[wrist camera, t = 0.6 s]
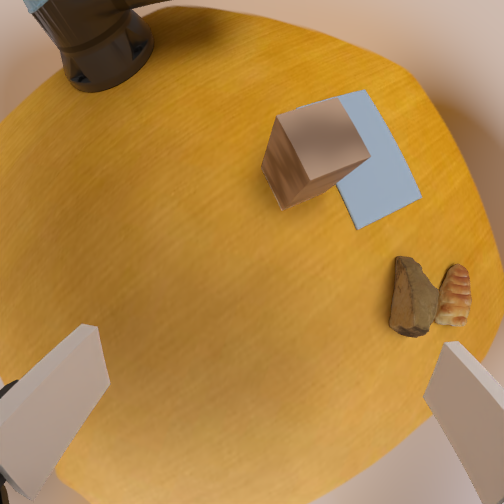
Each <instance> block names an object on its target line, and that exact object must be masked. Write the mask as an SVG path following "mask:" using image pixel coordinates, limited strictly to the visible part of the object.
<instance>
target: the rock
mask: <svg viewBox="0 0 504 504" xmlns="http://www.w3.org/2000/svg"><path fill="white" fill-rule="evenodd" d="M395 271H396V274H395V287H394V294H393V299H392V305H391V316H390V320H389V325H390V327H391V328H392V329H393V330H395V331H396V332H398V333H399V334H401V335H404V336H408V337H414V338H417V337H418V336H423V335H425V334H426V333H427V332H429V327H430V325H431V323H432V322H433V320H434V318H435V315H436V310H437V304H438V295H439V291H438V289H437V288H435V287H434V286H433V285H432V284H431V282H430V281H429V279H428V278H427V277H426V275H425V274H424V273H423V271H422V267H421V265H420V264H419V263H417V262H415V261H414V259H413V258H410V257H403V256H398V257H396V270H395Z"/></svg>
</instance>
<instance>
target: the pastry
mask: <svg viewBox="0 0 504 504" xmlns="http://www.w3.org/2000/svg"><path fill="white" fill-rule="evenodd" d="M471 302H472V298H471V291H470V278H469V275H468V271H467V269H466V268H465V267H463V266H462V265H460V264H455V265H454V266H452V267H451V268H450V269H449V270H448V272H447V274H446V278H445V280H444V281H443V284H442V285H441V287H440V289H439V295H438V304H437V310H436V315H435V318H434V319H435V322H436V323H437V324H442V325H446V324H447V325H451V326H464V325H466V323H467V317H468V314H469V311H470V305H471Z"/></svg>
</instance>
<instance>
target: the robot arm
mask: <svg viewBox="0 0 504 504" xmlns="http://www.w3.org/2000/svg"><path fill="white" fill-rule="evenodd" d="M23 1H24V3H25V5H26V7H27V8H28V12H29V13H31V14H32V15H33V16H34V18H35V19H36V20H37V22H38V23H39V24H40V25H41V27H42V28H43V29H44V31H45V32H46V33H47V34H48V36H49V37H50V38H51V40H52V41H53V42H54V43H55V45H56V46H57V47H58V49H59V50H60V52H61V58H62V62H63V67H64V71H65V75H66V77H67V78H68V80H69V81H70V82H71V83H72V85H73V86H74V87H75V88H77V89H79V90H81V91H84V92H97V91H102V90H106V89H109V88H112V87H114V86H116V85H118V84H120V83H122V82H124V81H125V80H127V79H128V78H130V77H131V76H132V75H134V74H135V73H136V72H137V71H138V70H139V69H140V68H141V67H142V66H143V65H144V64H145V63H146V61H147V60H148V58H149V57H150V55H151V53H152V50H153V47H154V38H153V35H152V32H151V29H150V27H149V25H148V24H147V23H146V22H145V21H144V20H143V19H142V18H141V17H140V16H139V15H138V14H136V13H135V12H134V11H133V10H132V9H134V8H137V7H142V6H146V5H150V4H154V3H160V2H164V1H170V0H23ZM109 385H110V380H109V376H108V372H107V368H106V364H105V359H104V355H103V350H102V346H101V341H100V336H99V331H98V327H96V326H91V325H86V324H81V325H80V326H79V327H77V328H76V329H75V330H74V331H73V332H72V333H71V334H69V335H68V336H67V337H66V338H65V339H64V340H63V341H61V342H60V343H59V344H58V345H57V346H56V347H55V348H54V349H53V350H51V351H50V352H49V353H48V354H47V355H46V356H45V357H44V358H43V359H42V360H40V361H39V362H38V363H37V364H36V365H35V366H34V367H33V368H32V369H31V370H30V371H29V372H28V373H27V374H25V375H24V376H23V377H22V378H21V379H20V380H15V381H13V382H11V383H9V384H7V385H5V386H4V387H3V388H2V389H1V390H0V504H9V500H8V494H7V490H6V488H5V486H4V485H3V484H4V483H5V481H7V482H8V483H9V484H10V485H11V486H12V487H13V488H14V489H15V491H17V492H18V493H20V494H21V495H23V496H25V497H26V498H28V499H29V500H31V501H34V499H35V498H36V496H37V495H38V493H39V491H40V490H41V488H42V487H43V485H44V483H45V482H46V480H47V478H48V477H49V475H50V474H51V472H52V470H53V469H54V467H55V466H56V464H57V463H58V461H59V460H60V458H61V457H62V455H63V453H64V452H65V450H66V449H67V447H68V446H69V444H70V443H71V441H72V440H73V438H74V437H75V435H76V434H77V432H78V431H79V429H80V428H81V426H82V425H83V423H84V422H85V420H86V419H87V417H88V416H89V414H90V413H91V411H92V410H93V409H94V407H95V406H96V404H97V403H98V401H99V400H100V398H101V397H102V396H103V394H104V393H105V391H106V390H107V388H108V387H109ZM423 398H424V400H425V401H426V403H427V404H428V406H429V408H430V409H431V411H432V413H433V414H434V416H435V418H436V419H437V421H438V422H439V424H440V426H441V428H442V429H443V431H444V433H445V434H446V436H447V438H448V440H449V441H450V443H451V445H452V447H453V448H454V450H455V452H456V454H457V456H458V457H459V459H460V461H461V463H462V465H463V466H464V468H465V470H466V472H467V474H468V476H469V478H470V480H471V482H472V484H473V486H474V488H475V489H476V491H477V493H478V495H479V498H480V500H481V501H482V504H502V503H503V502H504V388H503V387H502V386H501V385H500V384H499V383H498V382H497V381H496V380H495V378H493V376H492V375H491V374H490V373H489V372H488V371H487V370H486V369H485V368H484V367H483V366H482V365H481V364H480V363H479V362H478V361H477V360H476V359H475V358H474V357H473V356H472V355H471V354H470V353H469V352H468V351H467V350H466V349H465V348H464V347H463V346H462V345H461V344H460V343H459V342H458V341H454V342H445V343H444V344H443V347H442V350H441V353H440V356H439V358H438V361H437V364H436V366H435V369H434V372H433V374H432V377H431V379H430V382H429V384H428V386H427V389H426V391H425V393H424V396H423Z"/></svg>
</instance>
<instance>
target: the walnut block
mask: <svg viewBox="0 0 504 504" xmlns="http://www.w3.org/2000/svg"><path fill="white" fill-rule="evenodd" d="M370 157H371V155H370V153H369V151H368V149H367V148H366V146H365V144H364V142H363V140H362V138H361V136H360V135H359V133H358V131H357V129H356V127H355V126H354V124H353V122H352V120H351V119H350V117H349V115H348V114H347V112H346V110H345V109H344V107H343V105H342V104H341V102H340V100H339V99H338V97H337V98H333V99H329V100H326V101H322V102H319V103H315V104H312V105H308V106H305V107H302V108H299V109H295V110H292V111H289V112H286V113H283V114H280V115H277V116H276V119H275V122H274V125H273V129H272V132H271V135H270V139H269V142H268V146H267V149H266V152H265V156H264V159H263V163H262V166H261V169H262V171H263V173H264V175H265V177H266V179H267V181H268V183H269V185H270V187H271V189H272V191H273V194H274V196H275V198H276V200H277V202H278V204H279V206H280V208H281V210H282V211H283V210H285V209H288V208H290V207H292V206H295V205H297V204H299V203H301V202H304V201H306V200H308V199H311V198H313V197H315V196H318V195H320V194H322V193H324V192H326V191H327V190H328V189H330V188H331V187H332V186H334V185H335V184H336V183H337V182H339V181H340V180H341V179H343V178H344V177H345V176H347V175H348V174H349V173H350V172H352V171H353V170H354V169H356V168H357V167H358V166H360V165H361V164H362V163H363V162H365V161H366V160H367V159H369V158H370Z"/></svg>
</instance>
